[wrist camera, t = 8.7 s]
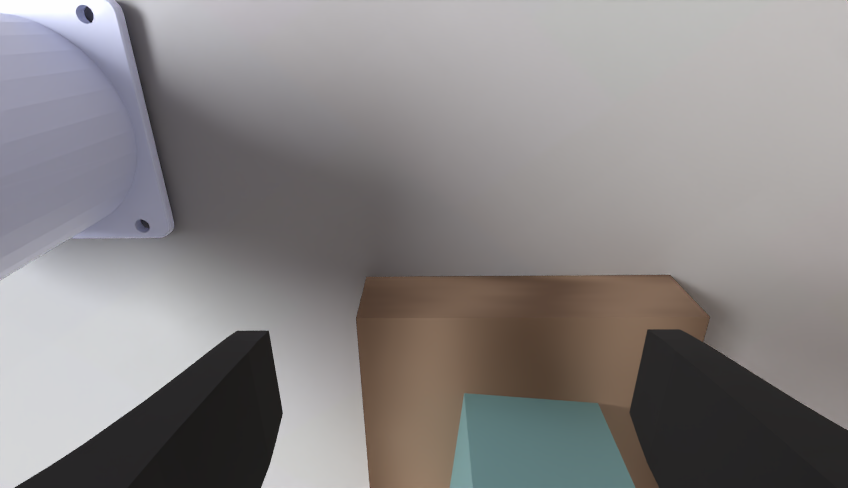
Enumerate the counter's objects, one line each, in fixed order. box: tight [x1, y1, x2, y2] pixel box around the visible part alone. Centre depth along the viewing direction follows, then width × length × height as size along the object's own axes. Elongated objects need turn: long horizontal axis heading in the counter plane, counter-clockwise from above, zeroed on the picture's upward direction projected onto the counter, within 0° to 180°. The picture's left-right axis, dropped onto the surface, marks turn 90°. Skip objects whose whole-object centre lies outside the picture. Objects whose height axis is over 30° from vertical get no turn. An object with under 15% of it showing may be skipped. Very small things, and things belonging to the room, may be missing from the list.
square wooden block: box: [356, 275, 710, 488], centre depth 21 cm, size 12×12×4 cm
